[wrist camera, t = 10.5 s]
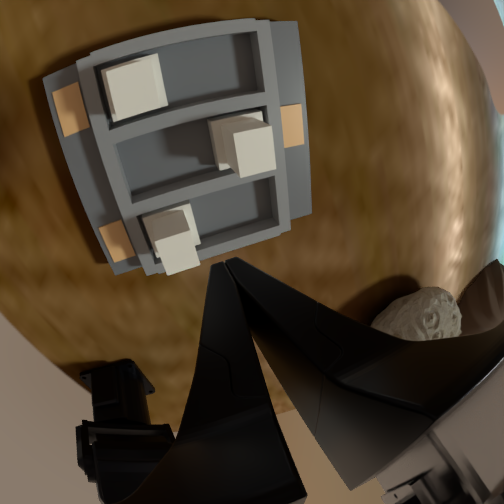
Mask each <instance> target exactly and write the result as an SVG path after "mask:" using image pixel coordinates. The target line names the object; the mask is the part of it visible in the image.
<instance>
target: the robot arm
mask: <svg viewBox="0 0 504 504" xmlns="http://www.w3.org/2000/svg"><path fill="white" fill-rule="evenodd" d="M252 337H253V339H254V340H255V342H256V344H257V345H258V347H259V349H260V350H261V352H262V354H263V355H264V357H265V359H266V360H267V362H268V364H269V365H270V367H271V369H272V370H273V372H274V374H275V375H276V377H277V379H278V380H279V382H280V384H281V385H282V387H283V388H284V390H285V392H286V393H287V395H288V396H289V398H290V400H291V401H292V403H293V405H294V406H295V408H296V409H297V411H298V412H299V414H300V416H301V417H302V419H303V420H304V422H305V423H306V425H307V427H308V428H309V430H310V431H311V433H312V434H313V436H314V437H315V439H316V441H317V442H318V444H319V445H320V447H321V448H322V450H323V451H324V453H325V454H326V456H327V457H328V459H329V460H330V462H331V463H332V465H333V466H334V468H335V469H336V471H337V472H338V474H339V475H340V477H341V478H342V479H343V481H344V483H345V484H346V486H347V487H348V488H349V490H350V491H351V490H353V489H355V488H357V487H358V486H361V485H362V484H364V483H366V482H368V481H370V480H371V479H373V478H375V477H376V478H377V480H378V481H379V483H380V484H381V486H382V488H383V489H384V491H385V493H386V494H384V495H382V496H381V498H382V500H383V502H384V503H385V504H504V320H503V321H502V322H501V323H500V324H499V325H497V326H496V327H495V328H493V329H491V330H488V331H485V332H482V333H477V334H471V335H464V336H457V337H450V338H442V339H433V340H424V341H411V340H405V339H401V338H398V337H395V336H393V335H390V334H388V333H385V332H383V331H380V330H378V329H375V328H373V327H370V326H368V325H365V324H363V323H360V322H358V321H356V320H353V319H351V318H349V317H346V316H344V315H342V314H340V313H338V312H336V311H334V310H332V309H330V308H328V307H327V306H325V305H323V304H321V303H319V302H318V303H317V301H315V300H314V299H312V298H310V297H308V296H306V295H305V294H303V293H301V292H299V291H297V290H296V289H294V288H292V287H290V286H288V285H287V284H285V283H283V282H281V281H279V280H278V279H276V278H274V277H272V276H270V275H269V274H267V273H265V272H263V271H262V270H260V269H258V268H256V267H254V266H253V265H251V264H249V263H247V262H245V261H244V260H242V259H240V258H238V257H234V258H231V259H228V260H225V263H224V262H219V263H216V264H213V265H211V267H210V273H209V279H208V286H207V292H206V299H205V306H204V313H203V320H202V327H201V334H200V341H199V347H198V355H197V361H196V367H195V373H194V377H193V381H192V385H191V389H190V392H189V396H188V399H187V403H186V406H185V410H184V414H183V417H182V421H181V424H180V428H179V431H178V434H177V436H176V439H175V437H174V435H173V432H172V430H171V427H170V425H169V424H163V425H151V421H150V416H149V411H148V405H147V400H146V395H149V394H153V393H154V392H155V388H154V387H153V385H152V384H151V383H150V382H149V380H148V379H147V378H146V377H145V375H144V374H143V373H142V372H141V370H140V369H139V368H138V366H137V365H136V364H135V362H134V361H132V360H127V361H123V362H119V363H116V364H112V365H108V366H104V367H101V368H97V369H93V370H89V371H85V372H81V373H80V379H81V380H82V381H83V382H84V383H85V384H86V385H87V386H88V387H89V388H90V389H91V392H92V406H93V416H94V422H92V421H87V420H82V425H80V426H77V427H76V443H77V460H78V466H79V467H80V468H81V469H82V470H83V471H84V472H85V475H87V477H88V482H92V483H96V486H97V491H98V497H99V501H100V502H101V504H304V502H305V500H306V498H307V492H306V490H305V488H304V485H303V483H302V480H301V478H300V476H299V473H298V471H297V468H296V466H295V463H294V461H293V458H292V456H291V453H290V451H289V448H288V446H287V443H286V441H285V438H284V436H283V433H282V431H281V428H280V425H279V423H278V420H277V417H276V415H275V412H274V409H273V405H272V402H271V399H270V396H269V393H268V389H267V386H266V383H265V379H264V376H263V373H262V369H261V366H260V363H259V359H258V356H257V352H256V349H255V346H254V342H253V339H252ZM90 444H92V445H90Z"/></svg>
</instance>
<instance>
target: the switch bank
mask: <svg viewBox="0 0 504 504" xmlns="http://www.w3.org/2000/svg"><path fill="white" fill-rule="evenodd" d="M157 53H158V58H159V63H160V68H161V73H162V78H163V83H164V88H165V93H166V98H167V102H168V106H164V107H161V108H157V109H154V110H150V111H147V112H144V113H140V114H137V115H134V116H131V117H128V118H125V119H122V120H119V121H115V122H113V118H112V114H111V111H110V107H109V103H108V99H107V95H106V90H105V86H104V82H103V77H102V73H101V70H103V69H106V68H109V67H112V66H115V65H118V64H121V63H124V62H128V61H131V60H134V59H138V58H141V57H145V56H149V55H153V54H157ZM43 83H44V87H45V91H46V95H47V99H48V103H49V107H50V110H51V114H52V117H53V121H54V124H55V128H56V131H57V134H58V137H59V141H60V144H61V147H62V150H63V153H64V156H65V159H66V162H67V164H68V167H69V170H70V173H71V175H72V178H73V181H74V183H75V186H76V189H77V191H78V194H79V196H80V199H81V201H82V204H83V206H84V209H85V211H86V213H87V216H88V218H89V221H90V223H91V225H92V227H93V230H94V232H95V234H96V236H97V239H98V241H99V243H100V245H101V247H102V249H103V251H104V254H105V256H106V258H107V260H108V262H109V264H110V266H111V268H112V270H113V272H114V274H115V275H118V274H121V273H124V272H127V271H130V270H133V269H136V268H139V267H142V266H143V268H144V271H145V273H146V275H147V276H148V275H151V274H154V273H157V272H158V274H160V273H163V272H166V271H165V268H164V266H163V263H162V260H161V258H160V257H158V258H157V257H156V254H155V251H154V249H153V246H152V244H151V241H150V238H149V236H148V233H147V230H146V227H145V225H144V222H143V219H142V214H144V213H147V212H150V211H153V210H156V209H159V208H162V207H165V206H168V205H172V204H175V203H178V202H181V201H185V200H188V199H189V202H190V205H191V209H192V212H193V216H194V220H195V224H196V227H197V231H198V235H199V239H200V242H201V244H199V245H196V246H195V249H196V252H197V255H198V259H199V261H200V260H203V259H207V258H210V257H213V256H216V255H219V254H222V253H225V252H228V251H232V250H235V249H238V248H241V247H244V246H247V245H250V244H254V243H257V242H260V241H263V240H266V239H269V238H272V237H276V236H279V235H280V233H283V232H286V231H289V230H291V226H290V220H292V219H295V218H298V217H302V216H305V215H308V214H312V205H311V178H310V157H309V140H308V125H307V111H306V99H305V88H304V77H303V67H302V57H301V49H300V40H299V32H298V24H297V21H277V22H269V20H255V18H248V19H237V20H227V21H219V22H211V23H204V24H198V25H192V26H187V27H181V28H176V29H171V30H167V31H162V32H158V33H154V34H149V35H146V36H142V37H138V38H134V39H131V40H127V41H124V42H121V43H117V44H114V45H111V46H108V47H105V48H102V49H99V50H96V51H94V52H91V53H90V56H87V57H85V58H82V59H80V60H77V61H76V64H73V65H71V66H68V67H66V68H64V69H61V70H59V71H57V72H55V73H52V74H50V75H48V76H46V77H44V78H43ZM253 109H257V110H260V111H262V116H263V122H265V123H267V124H269V125H271V126H272V132H273V141H274V150H275V160H276V169H275V170H270V171H266V172H262V173H258V174H255V175H251V176H247V177H243V178H240V177H239V176H238V175H237V174H236V173H235V172H234V171H233V169H232V168H228V169H224V170H219V169H218V168H217V166H216V164H215V159H214V153H213V148H212V143H211V138H210V132H209V127H208V122H207V119H210V118H214V117H219V116H223V115H228V114H233V113H238V112H243V111H248V110H253Z"/></svg>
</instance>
